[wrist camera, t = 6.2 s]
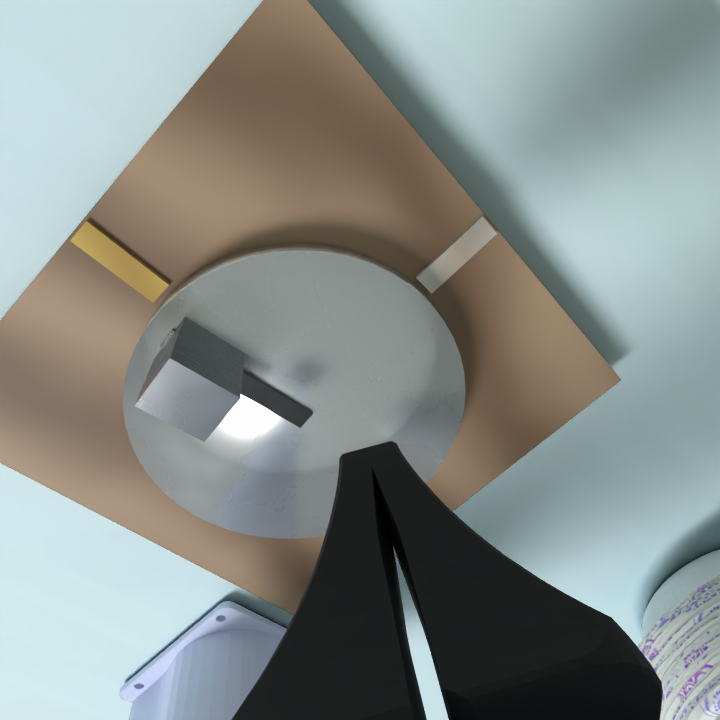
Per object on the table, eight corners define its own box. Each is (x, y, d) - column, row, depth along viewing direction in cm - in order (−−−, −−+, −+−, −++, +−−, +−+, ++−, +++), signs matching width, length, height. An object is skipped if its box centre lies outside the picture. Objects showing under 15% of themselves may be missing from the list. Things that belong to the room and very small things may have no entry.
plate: (307, 603, 29) (309, 625, 28) (-64, 402, 21) (-85, 422, 20) (606, 366, 25) (623, 381, 24) (284, -20, 16) (285, -28, 15)
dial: (518, 366, 22) (566, 424, 19) (327, 556, 26) (336, 635, 22) (260, 161, 17) (257, 186, 14) (67, 435, 21) (23, 511, 17)
